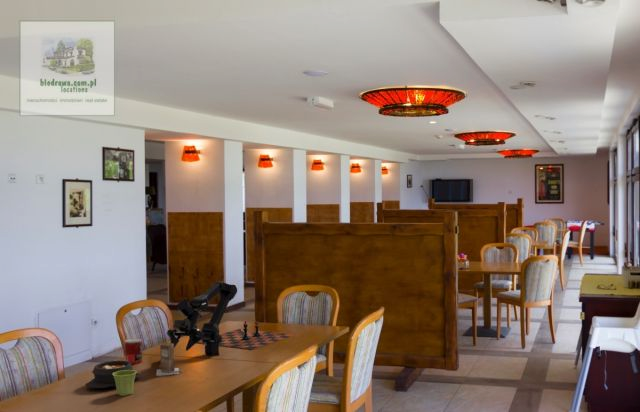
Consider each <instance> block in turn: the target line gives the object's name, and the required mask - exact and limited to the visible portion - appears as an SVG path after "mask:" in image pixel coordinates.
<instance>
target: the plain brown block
mask: <svg viewBox="0 0 640 412" xmlns="http://www.w3.org/2000/svg"><path fill="white" fill-rule="evenodd" d="M159 347H160V348H159V349H160V359H161V361H160V365H161V367H160V369H161V372H163V373H171V372H173V371H175V368H176V367H175V348H174V344H171V342H170V343H168V342H164V343H162V344H160V346H159Z"/></svg>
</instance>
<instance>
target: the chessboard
mask: <svg viewBox="0 0 640 412" xmlns="http://www.w3.org/2000/svg"><path fill="white" fill-rule="evenodd" d="M259 324H260V321H259V320H258V321H257V320H256V321H254V327H255V331H256V332H254V333H252V332H247V330H249V329H248V323H247V321H246V320H245V321H244V323H243V328H238V329H235V330H231V331H228V332H224V333H221V334H220V333H219V335H220V336H221V337H222V342H220V343H219V347H225V348H231V349H240V350H247V349H248V351H254V350H257V349H259V348H262V347H265V346H268V345H271V344H275V343H276V342H279V341H283V340H285V339H288V338H290V337H293V336H295V334H291V333H281V332H273V333H274V334H273V333H270V331H264V330H263V331H262V330H259V328H260V326H259ZM241 329H243V330H244V332H243V331H241ZM260 331H261V332H260ZM276 333H278V334H276ZM279 333H281V334H279ZM196 344H200V345H206V342H203V341H202V340H200V341H198V342H197V343H196Z"/></svg>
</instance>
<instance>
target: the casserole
mask: <svg viewBox="0 0 640 412" xmlns="http://www.w3.org/2000/svg"><path fill="white" fill-rule="evenodd" d="M133 369H134V367H133V365H132V364H131V363H130V362H127V361H126V360H110V361H105V362H101V363H97V364H96V365H94V367H93V370H92V371H91V373H92V374H93V376H94V378H93V379H91V380H90V381H88V382H87V383H85V384H84V385H85V387H87V388H91V389H92V388H93V389H106V388H116V383H115V379H114V376H113V373H114V372H117V371H123V370H133ZM139 376H140V373H138V372H137V373H136V374H135V379H136V378H138V377H139Z"/></svg>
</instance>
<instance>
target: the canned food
mask: <svg viewBox="0 0 640 412" xmlns="http://www.w3.org/2000/svg"><path fill="white" fill-rule="evenodd" d="M142 341H143V340H142V338H135V337H134V338H128V339H125V341H124V348H125V349H124V351H125V355H124V356H125V361H127V362H130V363H131V365H138V364H141V363H142V362H143V342H142Z"/></svg>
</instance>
